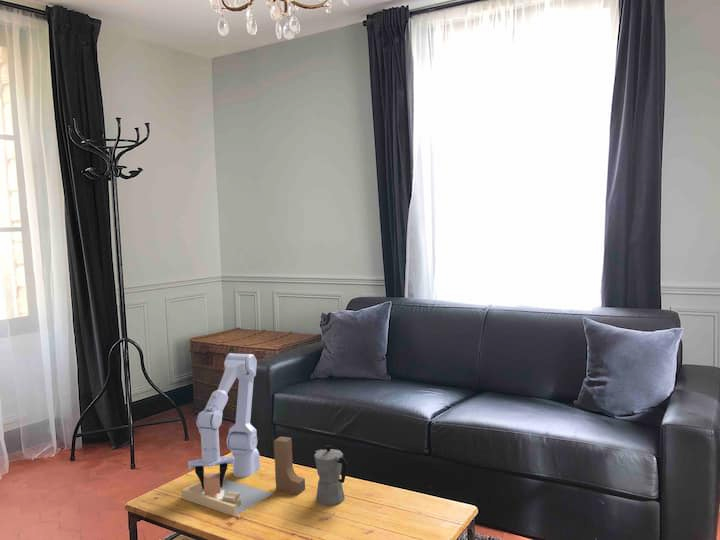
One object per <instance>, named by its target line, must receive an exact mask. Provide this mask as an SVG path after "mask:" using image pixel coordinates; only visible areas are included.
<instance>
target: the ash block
mask: <svg viewBox="0 0 720 540" xmlns="http://www.w3.org/2000/svg"><path fill="white" fill-rule="evenodd" d="M223 501H225V502H228V503H231V504H234V505H236V506H237V508H238V507H239V506H240V505H241V496H240V493H238V492H230V491H229V492H228V493H227V494H226V495H224V496H223Z"/></svg>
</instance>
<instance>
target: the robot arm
mask: <svg viewBox="0 0 720 540" xmlns="http://www.w3.org/2000/svg"><path fill="white" fill-rule="evenodd" d="M257 363H258V360H257V358H256V356H255V355H254V354H252V353H250V354H248V353H233V352H229V353H228V354H227V355H226V356H225V360H224V363H223V365H224V372H223V375H222V377H221V380H220V382H219V385H218V388H217V390H214V391H213V392H212V393H211V394H210V398H209V399H208V401H207V403H206V405H205V406H204V407H205V408H204V410H202V411H200V412H199V413H198V414H197V416H196V421H195V423H196V424H195V425H196V427H197V428H198V433H199V434H200V441H201V442H200V443H201V458H200V459H199V458H198V459H194V460H189V461H187V462H188V463H187V465H188V466H187V468H188V470H191V469H194V473H195V474H196V476H197V477H198V479H199V480H198V481H200V482H201V485H202V489H204V475H205V470H204V469H205V467H214V466H215V467H216V466H219V472H220V487H222V486H223V479H224V475H225V476H226V472H227V470H228V465H231V466H232V470H233V471H232V472H233V476H234V477H236V478H247V477H250V476H252V475H253V474H255V473H256V472H258V471H260V470H261V462H260V452H259V450H258V448H257V445H258V436H257V431H258V430H257V429H256V428H255V426H253V425H252V423H251V418H252V417H251V416H252V404H253V402H252V401H253V391H254V379H255V377H256V376H257V365H258V364H257ZM237 379H238V389H237V398H236V399H237V401H236V402H237V403H236V413H235V424H233V425H232V426H231V427H230V428H229V429H228V434H227V438H226V447H227V449H228V450H229V451H230V453H232V455H231V456H221V453H220V452H221V451H220V449H221V448H220V436H219V435H220V433H219V432H220V431H219V429H220V427H221V425H222V421H223V414H224V413H223V411H224V409H225V406H226V405H227V403H228V401H229V396H228V393H229V392H230V390H231V388H232V386H233V384H234V382H235V381H236V380H237Z"/></svg>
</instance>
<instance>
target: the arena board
mask: <svg viewBox="0 0 720 540" xmlns="http://www.w3.org/2000/svg"><path fill="white" fill-rule="evenodd" d="M221 490H224V495H226V494H227V493H228V492H229V491H230V492H238V493H240V496H241V505H240V506H239V507H238V508H237V506H236V505H234V504H231V503H228V502H225V501H223V499H222V500H219V499H216V498H213V497H210V496H207V495H204V494H203V492H204V489H202V485H201V482H200V480H198V481H197V482H195V483H193V484H191V485H188V486H186V487H184V488H183V489H181V496H182V499H183V500H185V501H189V502H191V503H195V504H197V505H200V506H203V507H206V508H209V509H211V510H214V511H218V512H219V513H220V512H221V513H224V514H226V515H229V516H232V517H235V516H237V515H239V514H241V513H243V512H244V511H246V510H248V509H249V508H252V507H253V506H254V505H256V504H259V503H260V502H262V501H264V500H265V499H267V498H269V497H271V496H272V495H274V494H275V493H273V492H270V491H267V490H262V489H260V488H258V487H254V486H250V485H247V484H244V483H241V482H237V481H233V480H229V479H227V478H226V474H225V475H224V479H223V486H222V487H221Z"/></svg>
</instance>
